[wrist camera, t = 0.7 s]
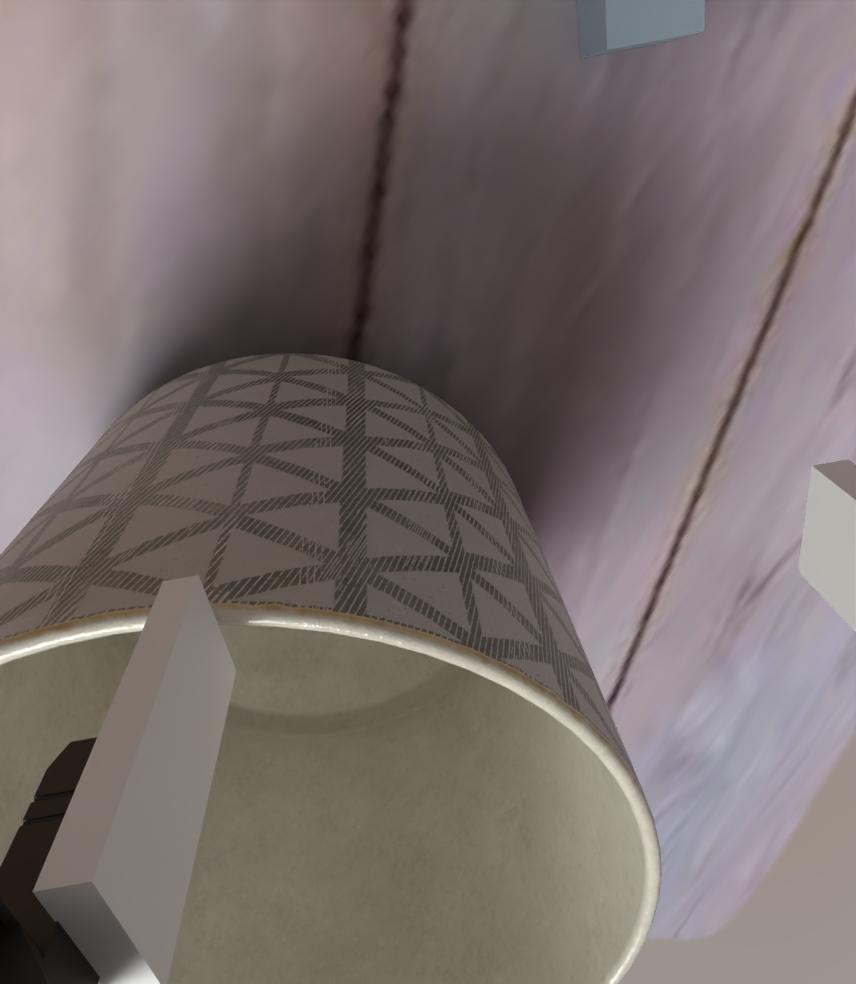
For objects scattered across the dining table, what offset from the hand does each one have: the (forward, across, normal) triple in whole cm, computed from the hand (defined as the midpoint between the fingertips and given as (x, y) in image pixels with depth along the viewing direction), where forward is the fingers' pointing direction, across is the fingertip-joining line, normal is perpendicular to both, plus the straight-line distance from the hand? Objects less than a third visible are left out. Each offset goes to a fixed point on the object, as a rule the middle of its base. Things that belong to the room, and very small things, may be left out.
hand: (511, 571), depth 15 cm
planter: (+24, -9, -13) cm, 29 cm away
